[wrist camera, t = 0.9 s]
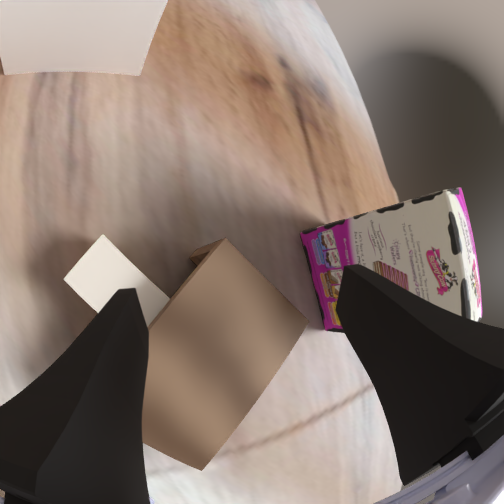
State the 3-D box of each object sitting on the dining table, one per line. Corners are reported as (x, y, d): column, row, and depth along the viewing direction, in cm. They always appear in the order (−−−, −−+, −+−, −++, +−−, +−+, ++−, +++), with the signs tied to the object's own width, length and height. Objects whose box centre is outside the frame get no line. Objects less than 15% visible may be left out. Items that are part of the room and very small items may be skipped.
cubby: (178, 435, 21) (201, 470, 15) (91, 378, 18) (88, 408, 13) (267, 316, 26) (309, 321, 21) (196, 249, 24) (225, 237, 18)
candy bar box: (352, 314, 32) (484, 315, 18) (323, 331, 29) (469, 344, 15) (329, 221, 32) (463, 184, 17) (297, 230, 29) (447, 189, 15)
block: (155, 355, 21) (165, 368, 18) (71, 280, 19) (63, 279, 15) (184, 318, 23) (200, 324, 19) (103, 242, 20) (102, 234, 17)
